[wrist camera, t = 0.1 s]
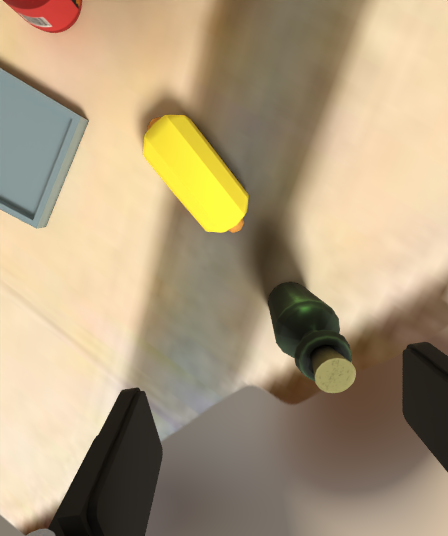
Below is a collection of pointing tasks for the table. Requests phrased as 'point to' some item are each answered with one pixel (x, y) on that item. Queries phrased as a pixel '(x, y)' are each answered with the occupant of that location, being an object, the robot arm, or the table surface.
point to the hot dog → (195, 173)
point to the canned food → (48, 13)
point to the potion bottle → (311, 336)
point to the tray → (34, 149)
